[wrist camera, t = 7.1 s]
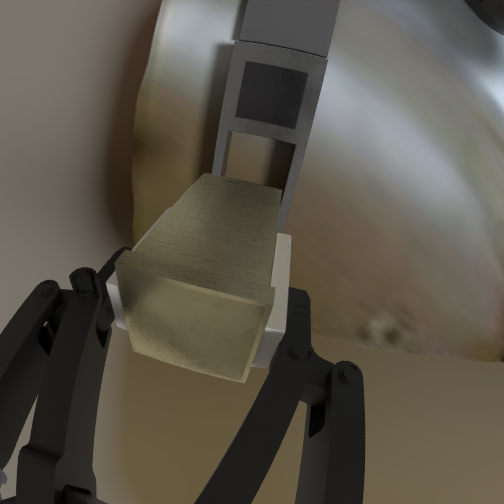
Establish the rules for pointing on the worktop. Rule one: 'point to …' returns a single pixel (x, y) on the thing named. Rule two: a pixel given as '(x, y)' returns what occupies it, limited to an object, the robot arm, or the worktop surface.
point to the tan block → (204, 278)
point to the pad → (291, 24)
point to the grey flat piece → (270, 104)
